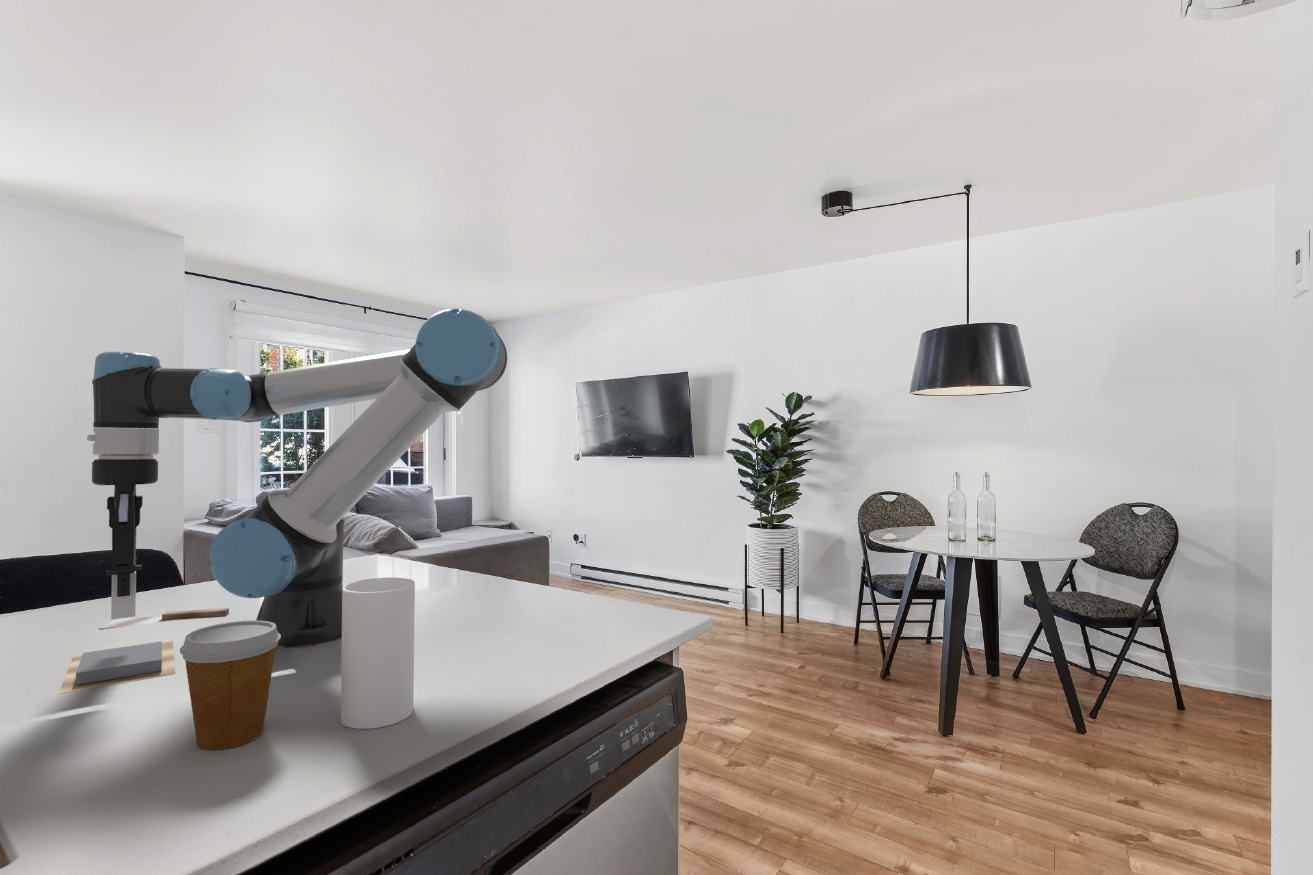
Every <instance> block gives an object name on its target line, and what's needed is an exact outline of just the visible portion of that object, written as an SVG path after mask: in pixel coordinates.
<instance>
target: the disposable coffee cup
mask: <svg viewBox="0 0 1313 875" xmlns="http://www.w3.org/2000/svg"><path fill="white" fill-rule="evenodd" d="M280 638H281V635H280V634H279V633H278V631H277V627H276V624H274V623H272V622H268V621H256V620H240V621H239V620H238V621H231V622H224V623H218V624H215V625H208V626H206V627H205V626H204V627H202V628H198V629H196V630H193V631H192V632H190V633H188V634H187V635H186V636H185V638H184V641H183V645H181V647H180V648H179V653H180V654H181V655H182V659H183V660H185V661H184V662H185V669H186V675H187V682H188V683H187V684H188V691H189V696H190V697H189V698H190V704H191V710H192V711H191V712H192V719H193V725H194V731H195V732H194V734H195V741H196V745H197V747H198V748H200V749H201V750H210V751H211V750H212V751H213V750H214V751H215V750H225V749H230V748H235V747H238V746H241V745H244V744H247V743H249V742H252V741H253V740H255V739H257V738H259V737H260V736H261V735H262V734H263V733H264V729H265V728H264V727H265V720H266V714H267V708H268V701H269V697H270V696H269V694H270V688H271V681H272V675H273V669H274V662H275V653H276V648H277V646H279V645H278V641H279V640H280Z"/></svg>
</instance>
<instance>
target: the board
mask: <svg viewBox="0 0 1313 875" xmlns="http://www.w3.org/2000/svg"><path fill="white" fill-rule="evenodd" d="M174 653H175V651H174V641H173V640H172V641H171V640H169V641H164V642H163V641H162V671H157V672H151V673H145V674H139V675H133V676H127V677H121V678H115V679H109V680H103V681H98V682H92V683H86V684H80V685H76V672H77V669H78V666H79V663H80V661H81V658H82V655H83V653H82V654H77V655H76V654H75V655H73V656H72V659H71V661H70V664H69V666H68V669H67V671H66V673H65V676H64V679H63V682H62V684H61V686H60V690H59V692H58V695H61V694H67V693H74V692H78V691H79V692H80V691H85V690H90V689H96V688H102V687H109V686H114V685H120V684H126V683H132V682H137V681H143V680H149V679H155V678H161V677H166V676H172V675H176V667H175V665H176V664H175V654H174Z"/></svg>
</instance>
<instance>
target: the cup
mask: <svg viewBox="0 0 1313 875" xmlns="http://www.w3.org/2000/svg"><path fill="white" fill-rule="evenodd" d="M415 584H416V583H415V580H413V579H410V578H405V577H376V578H366V579H361V580H356V581H352V582H349V583H346V584H345V585H343V590H342V637H341V659H340V660H341V662H340V663H341V666H340V671H341V672H340V673H341V674H340V723H341V724H342V725H343V726H345V727H346V728H347V727H348V728H351V729H355V730H356V729H357V730H368V729H371V730H372V729H379V728H385V727H387V726H391V725H394V724H397V723H400V722H402V721H404V720H405V719H407V718H408V717H410V716H411V714H413V712H414V694H415V693H414V689H415V687H414V678H415V671H414V670H415V614H416V613H415V607H416V606H415V605H416V604H415V603H416V598H415V596H416V585H415Z"/></svg>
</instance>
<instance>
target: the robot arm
mask: <svg viewBox="0 0 1313 875" xmlns="http://www.w3.org/2000/svg"><path fill="white" fill-rule="evenodd" d="M94 361H95V362H94V369H93V370H94V371H93V378H92V380H91V381H92V382H91V384H92V390H93V392H92V393H93V422H92V425H93V426H92V427H93V430H92V431H93V433H94V434H91V433H90V434H88V435H87V436H86V440H87V441H88V442H94V443H93V444H92V454H93V455H94V456H98V458H96V459H93V461H92V462H91V483H93V484H94V485H96V486H114V490H113V491H114V492H113V496H108V497H107V498H106V499H107V500H106V508H107V510H108V515H109V516H108V526H109V527H110V529H111V566H110V570H109V569H108V570H106V571H105V576H111V597H110V598H111V606H110V608H111V611H110V620H115V619H124V618H136V607H137V606H136V602H137V594H136V593H137V571H139V570H142V566H143V565H142V564H137V561H138V558H137V553H136V552H137V527H138V526H139V525H140V522H141V508H142V507H143V500H144V498H143V497H144V496H143V495H137V485H150V484H151V485H152V484H155V483H156V482H158V480H159V461H158V460H157V459H156V458H154V456H157V455H158V454H159V453H160V429H159V425H160V424H159V423H160V418H161V419H169V418H170V419H196V420H198V419H199V420H214V421H216V420H219V421H220V420H223V421H236V422H237V421H238V422H244V423H255V422H262V421H266V420H268V419H270V418H272V417H278V416H283V415H288V414H293V413H300V412H301V413H302V412H307V411H312V410H318V409H325V408H329V407H335V406H342V405H349V404H355V403H360V402H367V401H371V400H373V402H372V403H371V404H370V405H369V406H368V407H367V408H366V409H365V410H364V411H363V412H362V413H361V414H360V415H359V416H358V417H357V418H355V419H356V420H354V421H353V422H352V424H350V425H349V427H348V428H347V429H346V430H344V432H342V434H341V435H340V436H339V437H338V438H337V439H336V440H335V441H334V442H333V443H332V444H331V445H329V447H327V449H326V450H325V451H324V452H323V453H322V454H321V455H320V456H319V457H318V458H317V459H316V461H314V462H313V463H312V465H310V466H309V467H308V469H306V471H305V472H304V473H303V474H302V475H301V476H300V477H299V478H297V480H296V481H295V482H294V483H293V484H292V485H291V486H290V487H289V488H288V489H287V488H286V489H275V490H272V491H271V492H269V493H268V494H267V495H266V497H265V498H263V500H261V502H259V504H257V506H256V507H254V508H253V510H252V511H251V512H250V513H248V515H246V516H245V517H244V518H241V519H239V518H238V519H237V520H235V521H233V522H231V523H230V524H228V525H226V526H225V527H224V528H222V529H221V530H220V531H219V532H218V533H217V534H216V536H215V537H214V539H213V540H212V542H211V545H210V548H209V554H208V559H209V563H210V564H209V565H210V566H209V568H210V571H211V573H212V575H213V578H214V579H215V580H216V583H218V584H219V585H220V587H222V588H223V589H224V590H225V591H227V592H229V593H231V594H232V595H234V596H237V597H241V598H245V599H259V598H263V600H262V603H261V606H260V608H259V610H258V613H257V616H256V620H255V621H268V622H272V623H274V624H276V627H277V631H278V633H279V634H280V635H281V638H280V640H279V641H278V645H277V646H284V648H294V647H305V646H310V645H318V644H322V643H326V642H330V641H334V640H336V639H337V640H338V639H339V638H342V590H343V586H344V585H343V584H344V583H343V581H344V580H343V578H344V576H343V573H344V569H343V568H344V529H345V528H344V526H345V524H346V523H345V518H344V517H345V515H346V514H348V513H349V512H350V510H351V509H352V508H353V507H354V506H355V505H356V504H357V503H358V502H359V501H360V500H361V499H362V498H363V497H364V496H365V495H366V493H368V492H369V491H370V490H371V489H372V488H373V486H374V485H375V484H376V483H377V482H378V481H379V480H381V479H382V478H383V476H384V475H385V474H387V472H388V471H389V470H390V469H391V468H392V467H393V466H394V464H395V463H397V462H398V460H399V459H400V458H401V457H403V455H404V454H405V453H406V452H407V451H408V450H410V448H411V447H412V446H413V445H414V444H415V443H416V442H417V441H418V439H419V438H420V437H421V436H422V435H423V434H424V433H425V432H426V431H427V430H428V429H429V428H430V427H431V426H432V425H433V424H434V423H435V422H436V421H437V419H438V418H440V417H441V416H442V414H443V413H448V412H459V411H460V410H461V409H462V407H464V405H466V404H467V403H468V401H470V400H471V398H473V396H474V395H475V394H476V393H477V392H479V391H483V390H484V391H485V390H486V389H489V388H491V387H493V386H494V385H495V384H496V383H498V382H499V381H500V379H501V378H502V377H503V375H504V373H505V371H506V368H507V364H508V352H507V347H506V345H505V342H504V340H503V339H502V337H500V335H499V333H498V331H497V329H496V328H495V327H494V326H493V325H492V323H491V322H490V321H488V320H487V319H485V317H483V316H482V315H480V314H478V313H477V312H474V311H471V310H468V309H463V308H448V309H444V310H441V311H438V312H436V313H434V314H433V315H431V316H430V317H428V319H426V320H425V321H424V323H423V324H422V325H421V327H420V329H419V331H418V332H417V335H416V340H415V343H414V345H413V346H412V347H410V349H405V350H398V351H392V352H391V351H390V352H388V353H387V352H385V353H381V354H373V355H368V356H361V357H355V358H350V359H349V358H348V359H343V360H336V361H330V362H326V363H325V362H324V363H318V364H312V365H306V366H305V365H304V366H300V367H299V366H298V367H293V368H292V367H291V368H286V369H282V370H275V371H268V372H261V373H256V374H250V375H244V374H243V373H242V372H240V371H238V370H235V369H224V368H217V367H211V368H170V367H169V368H168V367H162V366H161V363H160V362H161V361H160V359H159V358H158V357H157V356H155V355H153V354H149V353H142V352H129V351H128V352H126V351H104V352H100V353H99V354H97V355H96V356H95V359H94Z"/></svg>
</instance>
